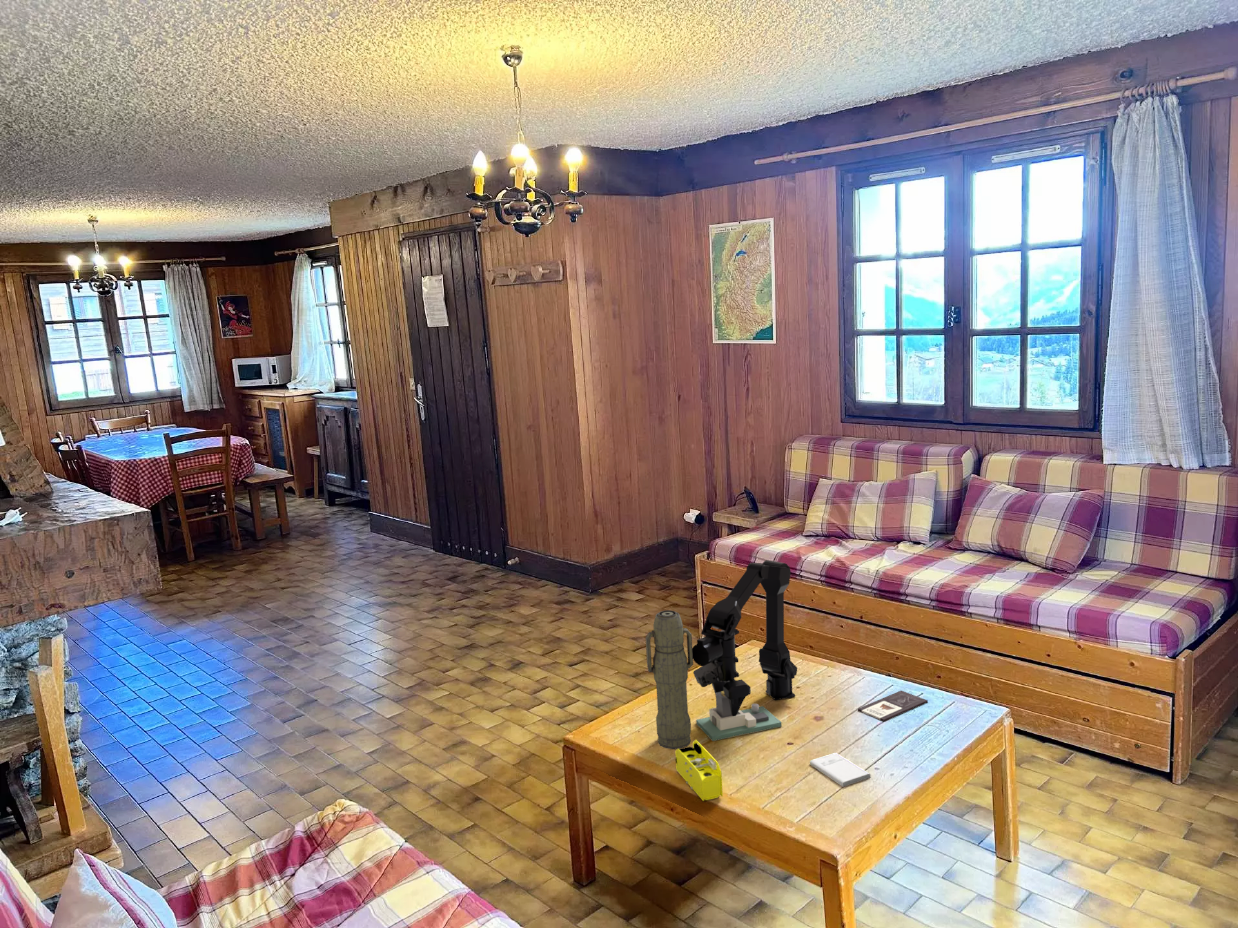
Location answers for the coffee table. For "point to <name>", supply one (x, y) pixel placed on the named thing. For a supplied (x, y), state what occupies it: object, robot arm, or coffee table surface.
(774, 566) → the robot arm
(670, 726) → the thermos
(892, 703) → the chocolate bar
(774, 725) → the board
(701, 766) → the yellow toy chassis
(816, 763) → the external hard drive
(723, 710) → the plug
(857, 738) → the coffee table surface
